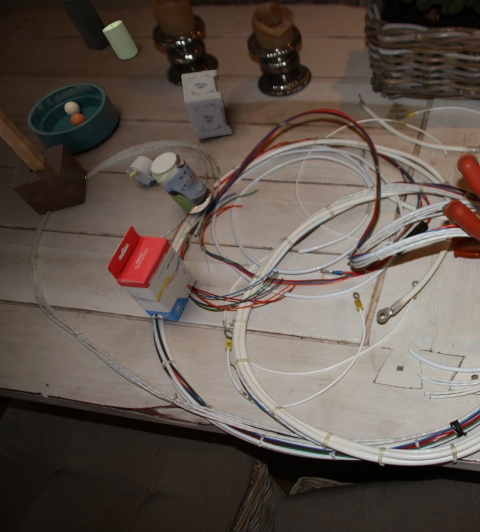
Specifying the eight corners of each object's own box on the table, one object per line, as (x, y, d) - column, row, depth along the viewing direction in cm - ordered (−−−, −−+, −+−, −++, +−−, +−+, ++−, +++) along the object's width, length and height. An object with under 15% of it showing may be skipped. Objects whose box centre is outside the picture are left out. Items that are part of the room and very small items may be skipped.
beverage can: (216, 212, 102) (189, 166, 92) (178, 223, 101) (146, 178, 91) (213, 188, 105) (187, 142, 95) (176, 199, 105) (146, 154, 95)
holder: (39, 215, 106) (11, 188, 99) (43, 184, 111) (17, 156, 104) (84, 203, 107) (59, 174, 100) (86, 172, 112) (63, 143, 105)
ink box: (178, 322, 89) (133, 272, 77) (151, 318, 90) (102, 269, 78) (198, 278, 93) (158, 225, 81) (172, 275, 94) (129, 223, 82)
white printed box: (238, 133, 114) (219, 92, 105) (199, 144, 113) (177, 104, 104) (232, 105, 119) (214, 64, 111) (195, 115, 118) (174, 75, 110)
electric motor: (127, 187, 108) (113, 169, 104) (141, 170, 110) (129, 152, 106) (154, 194, 106) (142, 176, 102) (169, 177, 108) (157, 159, 104)
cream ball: (63, 113, 121) (65, 116, 119) (63, 99, 120) (65, 102, 118) (78, 115, 123) (81, 117, 121) (78, 101, 122) (81, 103, 120)
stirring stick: (58, 198, 108) (-52, 80, 85) (59, 191, 109) (-49, 72, 86) (70, 195, 108) (-38, 76, 85) (70, 187, 109) (-35, 68, 86)
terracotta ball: (67, 114, 116) (83, 112, 117) (69, 113, 118) (84, 111, 119) (72, 129, 117) (87, 127, 118) (74, 127, 119) (89, 125, 120)
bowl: (42, 164, 114) (23, 143, 109) (48, 116, 124) (31, 94, 119) (119, 143, 116) (104, 121, 111) (120, 97, 125) (106, 75, 120)
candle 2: (114, 56, 135) (95, 25, 128) (129, 45, 137) (112, 14, 130) (126, 62, 133) (108, 31, 126) (142, 50, 135) (125, 20, 128)
